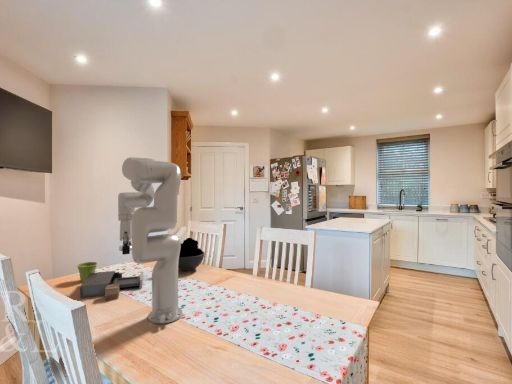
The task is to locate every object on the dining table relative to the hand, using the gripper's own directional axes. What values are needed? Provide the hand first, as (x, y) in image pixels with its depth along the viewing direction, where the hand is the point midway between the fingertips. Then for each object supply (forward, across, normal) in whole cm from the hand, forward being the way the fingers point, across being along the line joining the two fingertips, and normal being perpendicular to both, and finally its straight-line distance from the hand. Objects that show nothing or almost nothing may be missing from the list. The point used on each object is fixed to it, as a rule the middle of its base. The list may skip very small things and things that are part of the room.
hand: (126, 252), depth 139 cm
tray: (+17, 0, +1) cm, 17 cm away
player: (+17, 0, -11) cm, 20 cm away
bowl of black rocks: (+17, -17, +31) cm, 40 cm away
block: (+17, +14, -5) cm, 23 cm away
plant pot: (+17, -16, -21) cm, 31 cm away
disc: (-1, 0, 0) cm, 1 cm away
